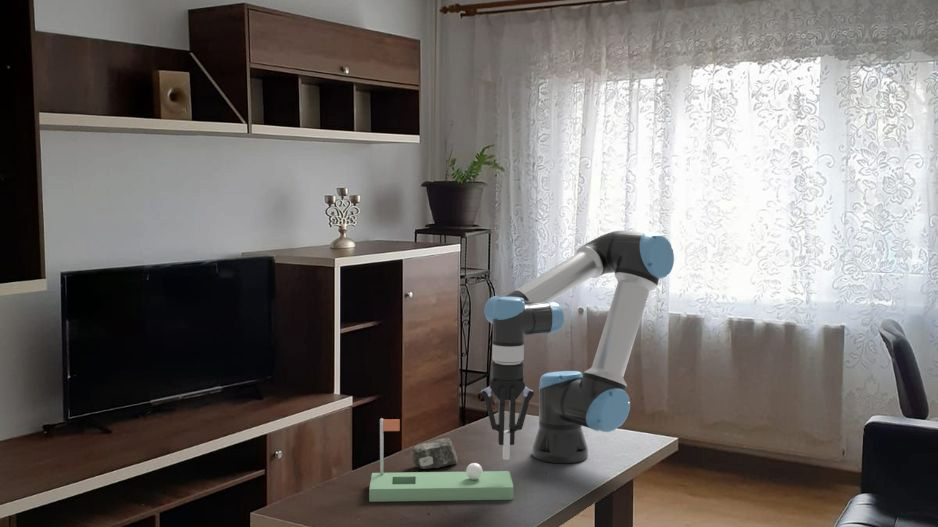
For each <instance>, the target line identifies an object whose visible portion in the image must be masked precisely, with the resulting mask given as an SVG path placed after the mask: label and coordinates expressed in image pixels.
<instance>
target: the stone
mask: <svg viewBox="0 0 938 527" xmlns="http://www.w3.org/2000/svg"><path fill="white" fill-rule="evenodd" d="M456 452H457V451H456V450H455V447H454V444H453V442H452V440H451V438H450V437H443V438H437V439H434V440H430V441H428V442H426V443H420V444H418V445H415V446H414V447H413V449H412V450H411V453H410V454H411V457H412V458H411V459H412V462H413V464H414V467H416V468H418V469H420V470H421V469H422V470H426V469H427V470H429V469H437V468H441V467H445V466H450V465H458V455H457V453H456Z"/></svg>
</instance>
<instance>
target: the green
mask: <svg viewBox="0 0 938 527" xmlns="http://www.w3.org/2000/svg"><path fill="white" fill-rule="evenodd" d="M400 422H401V421H400V419H398V418H397V419H393V418H392V419H384V418H380V419H379V459H380V460H379V464H380V465H379V469H380V470H379V472H372V473H371V479H370V483H369V489H368V490H369V492H368V495H369V496H368V499H369V503H370V502H371V503H372V502H373V503H375V502H379V503H380V502H381V503H382V502H429V501H431V502H432V501H433V502H434V501H435V502H439V501H441V502H442V501H447V502H449V501H500V500H501V501H502V500H503V501H504V500H506V501H508V500H509V501H510V500H514V498H515V496H514V493H515V492H514V491H515V490H514V483H513V479H512V477H511V472H510V470H494V471H490V470H489V471H488V470H487V471H485V470H483V472H482V476H481V477H480V478H479V479H477V480H472V479H470V478H469V477H468V476H467V474H466V471H428V472H427V471H420V472H418V471H416V472H415V471H414V472H413V471H410V472H406V471H405V472H385V471H384V469H385V468H384V467H385V466H384V432H400V429H401V428H400V427H401V426H400V425H401V423H400Z"/></svg>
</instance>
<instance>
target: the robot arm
mask: <svg viewBox="0 0 938 527" xmlns="http://www.w3.org/2000/svg"><path fill="white" fill-rule="evenodd" d="M674 262H675V254H674V249H673V246H672V244H671V242H670V241H669V239H668V238H667V237H666V236H664V235H662V234H660V233H655V232H651V231H645V232H644V231H630V230H628V231H627V230H615V231H610V232H608V233H604V234H603V235H600V236H598V237H596V238H594V239H592V240H590V241H588V242H586V243H584V244H582V245H581V246H579V247H578V248H577V250H576V253H574V255H572V256H570V257H569V258H567V259H566V260H563V261H561V262H560V263H559V264H556V265H555V266H554V267H552V268H550V269H549V270H547V271H545V272H543V273H542V274H540V275H538V276H537V277H535V278H534V279H532V280H530V281H528V282H527V283H525V284H523V285H522V286H520V287H518V288H517V289H515V290H513V291H512V292H510V293H509V294H506V295H505V296H504V295H494V296H492V297H490V298H489V299H487V301H486V302H485V305H484V310H483V312H484V317H485V319H486V321H488V322H489V323H490V324H491V325H492V350H491V351H492V355H491V356H492V361H493V362H492V363H491V380H490V382H489V386H487V387H486V388H482V389H481V390H480V394H481V397H483V399H484V401H485V404H486V410H487V414H488V418H489V422H490V427H491V429H492V430H493V431H497V432H498V435H497V436H498V438H497V441H498V444H499V446H502V459H503V460H504V461H506V460H507V461H508V460H509V461H510V460H511V458H510V457H511V456H510V455H511V452H510V451H511V446H514V445H515V434H516V432H517V431H520V430H522V429H523V427H524V424H525V420H526V416H527V413H528V412H527V411H528V407H529V404H530V401H531V400H532V398H533V396H534V395H535V393H534V390H533V389H531V388H529V387H527V386H526V384H525V382H524V363H523V361H524V359H525V357H524V356H525V354H524V351H525V350H524V348H525V336H529V335H530V336H531V335H540V334H541V335H543V334H550V333H556V332H558V331H560V330H561V329H562V327H563V325H564V323H565V314H564V310H563V309H562V306H561V305H560V304H558V302H557V303H556V302H554V301H555V300H556V299H558V298H559V297H561V296H563V295H565V294H566V293H568V292H569V291H571V290H573V289H574V288H576V287H577V286H579V285H581V284H583V283H584V282H586V281H588V280H589V279H597V278H599V277H601V276H603V275H605V274H611V273H614V277H615V279H616V280H617V285H616V288H615V291H614V294H613V298H612V301H611V305H610V306H609V310H608V313H607V316H606V320H605V323H604V327H603V329H602V333H601V336H600V338H599V339H600V340H599V344H598V345H597V346H598V347H597V350H596V351H595V352H596V353H595V356H594V358H593V362H592V365H591V367H590V368H589V369H587V370H585V371H583V373H582V372H581V371H577V370H561V371H552V372H551V371H550V372H546V373H544V374H542V375H541V377H540V378H539V386H538V429H537V432H536V435H535V437H534V440H533V444H532V451H531V452H532V457H534V458H535V459H536V460H538V461H542V462H545V463H552V464H572V463H573V464H574V463H579V462H582V461H585V460H587V458H588V457H589V454H588V453H589V447H588V444H587V442H586V438H585V434H584V432H583V428H582V427H586V428H589V429H591V430H593V431H596V432H599V431H600V432H603V433H610V432H614V431H616V429H618V428H620V427H621V426H622V425H623V424H624V423H625V421H626V420H627V418H628V417H629V416H628V415H629V414H630V410H631V402H630V397H629V394H628V393H627V392H626V391H627V387H628V384H627V383H626V381H625V379H624V376H625V372H626V370H627V366H628V364H629V359H630V357H631V353H632V350H633V348H634V343H635V339H636V336H637V333H638V331H639V326H640V323H641V320H642V316H643V314H644V311H645V307H646V304H647V300H648V296H649V293H650V292H651V291H653V290H655V289H657V287H658V283H659V281H660V279H663V278H665V277H667V276H668V275H669V274H670V273H671V271H672V270H673V267H674ZM491 392H493V394H494V396H495V397H496V398H497V400H498V419H497V420H498V423H496V422H497V421H496V418H495V415H494V409H493V405H492V400H491V396H492V393H491ZM522 392H523V393H522ZM521 394H523V399H522V401H521V402H522V403H521V405H520V409H519V413H518V418H517V420H516V405H517V404H516V401H517V399H518V397H520V395H521ZM506 401H508V402H509V406H508V411H509V412H508V429H505V409H506V407H505V405H506Z"/></svg>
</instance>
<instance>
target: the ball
mask: <svg viewBox="0 0 938 527" xmlns="http://www.w3.org/2000/svg"><path fill="white" fill-rule="evenodd" d="M483 471H484V470H483V467H482V466H481V464H479V463H477V462H472V463H470V464H468V466H466V469H465V472H466V474H467V476H468V477H469V478H470V479H472V480H477V479H479V478H480V477H481V476H482V472H483Z"/></svg>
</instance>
